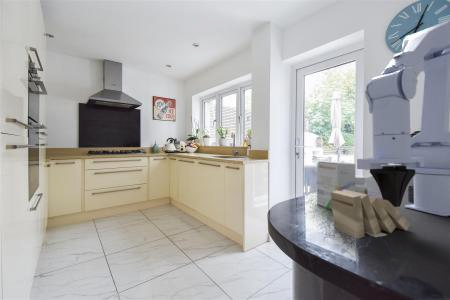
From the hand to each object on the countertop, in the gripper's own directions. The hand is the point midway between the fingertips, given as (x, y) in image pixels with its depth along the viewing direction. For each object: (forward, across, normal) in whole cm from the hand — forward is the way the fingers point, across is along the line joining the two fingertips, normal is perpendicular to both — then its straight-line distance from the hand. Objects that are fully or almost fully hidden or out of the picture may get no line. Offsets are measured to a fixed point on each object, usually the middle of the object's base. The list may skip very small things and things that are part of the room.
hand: (392, 205), depth 40 cm
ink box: (+4, 0, -14) cm, 15 cm away
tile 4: (+4, +10, 0) cm, 11 cm away
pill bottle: (+4, -6, -14) cm, 15 cm away
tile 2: (+3, +3, 0) cm, 5 cm away
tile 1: (+3, 0, 0) cm, 3 cm away
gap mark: (+4, +7, 0) cm, 8 cm away
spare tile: (+3, +7, 0) cm, 8 cm away
